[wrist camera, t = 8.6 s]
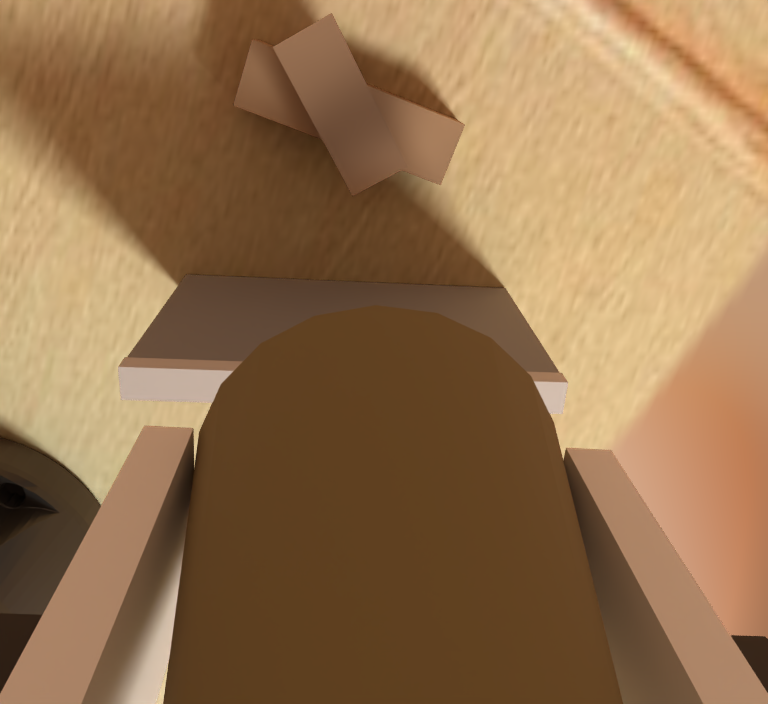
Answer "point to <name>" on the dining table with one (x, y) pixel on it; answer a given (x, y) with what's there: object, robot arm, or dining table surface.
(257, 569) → the cork
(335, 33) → the offcut top
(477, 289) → the board
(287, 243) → the dining table surface
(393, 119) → the offcut low
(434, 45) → the dining table surface
